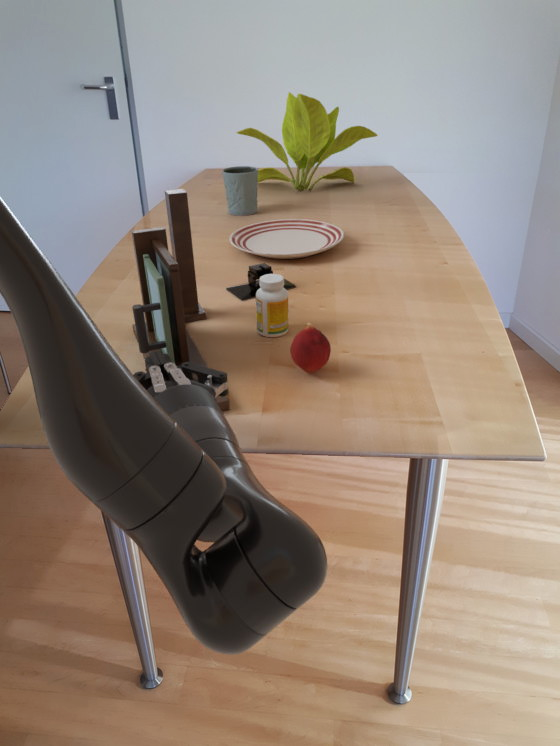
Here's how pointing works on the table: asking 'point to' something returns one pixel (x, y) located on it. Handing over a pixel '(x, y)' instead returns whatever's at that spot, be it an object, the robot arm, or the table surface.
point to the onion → (310, 349)
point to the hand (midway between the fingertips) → (155, 358)
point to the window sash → (154, 313)
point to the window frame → (167, 298)
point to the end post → (183, 252)
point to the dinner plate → (287, 238)
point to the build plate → (254, 282)
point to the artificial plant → (308, 141)
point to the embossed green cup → (241, 189)
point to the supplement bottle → (272, 306)
